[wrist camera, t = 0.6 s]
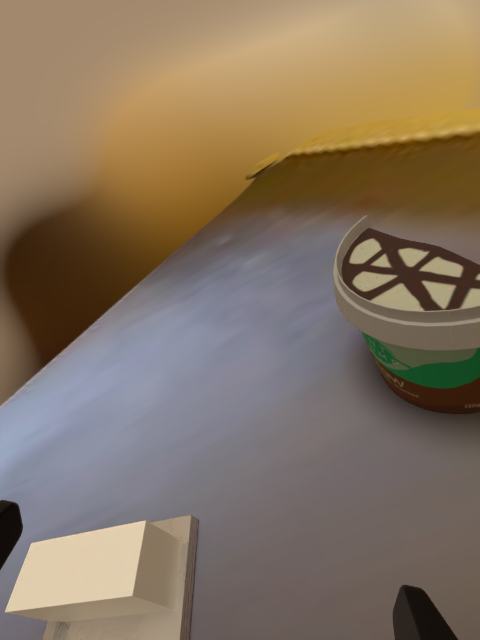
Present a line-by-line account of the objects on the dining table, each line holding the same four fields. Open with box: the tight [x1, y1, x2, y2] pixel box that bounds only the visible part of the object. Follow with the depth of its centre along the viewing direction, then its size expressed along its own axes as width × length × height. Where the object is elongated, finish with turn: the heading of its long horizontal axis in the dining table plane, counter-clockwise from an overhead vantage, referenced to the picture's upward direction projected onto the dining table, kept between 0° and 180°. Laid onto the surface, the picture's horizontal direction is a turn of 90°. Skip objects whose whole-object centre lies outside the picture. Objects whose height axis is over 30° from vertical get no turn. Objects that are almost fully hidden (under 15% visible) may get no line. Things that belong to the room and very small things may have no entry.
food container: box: [333, 215, 480, 414], centre depth 22 cm, size 12×6×10 cm, turn 27°
